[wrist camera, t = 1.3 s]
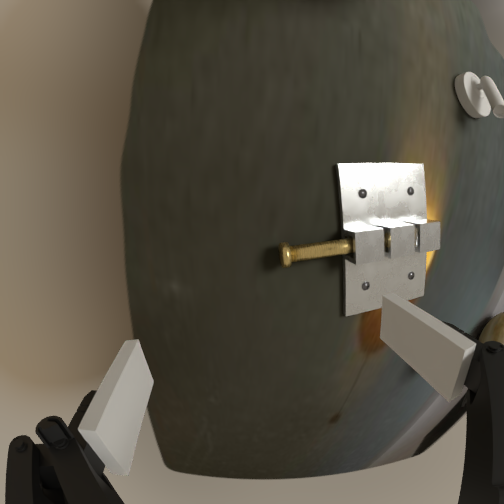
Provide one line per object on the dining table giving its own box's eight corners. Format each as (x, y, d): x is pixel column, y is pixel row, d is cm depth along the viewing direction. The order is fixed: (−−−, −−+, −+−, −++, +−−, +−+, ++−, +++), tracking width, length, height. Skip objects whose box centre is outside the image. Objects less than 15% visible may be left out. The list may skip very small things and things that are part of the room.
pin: (277, 241, 32) (283, 245, 29) (391, 226, 33) (403, 229, 31) (279, 264, 33) (285, 270, 30) (392, 247, 34) (403, 251, 31)
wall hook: (493, 97, 22) (489, 53, 21) (453, 107, 31) (454, 66, 30) (518, 128, 24) (515, 84, 22) (480, 132, 33) (481, 92, 31)
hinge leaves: (335, 164, 31) (349, 161, 28) (419, 164, 33) (436, 162, 29) (343, 314, 36) (355, 325, 32) (420, 293, 37) (435, 302, 33)
